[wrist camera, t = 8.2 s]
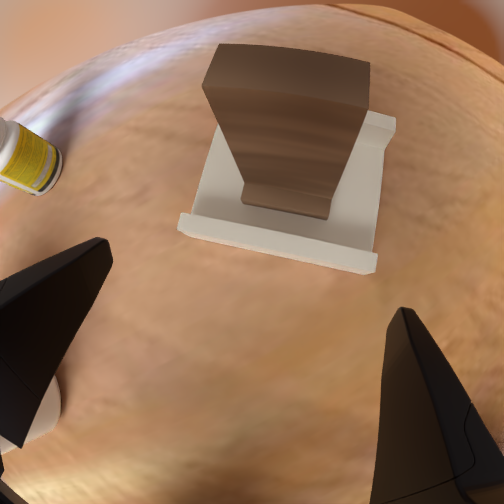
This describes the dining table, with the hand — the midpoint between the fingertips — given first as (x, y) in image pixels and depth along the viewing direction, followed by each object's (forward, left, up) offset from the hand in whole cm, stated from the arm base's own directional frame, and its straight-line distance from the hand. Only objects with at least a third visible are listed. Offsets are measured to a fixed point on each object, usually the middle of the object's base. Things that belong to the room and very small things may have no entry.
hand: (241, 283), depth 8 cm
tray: (+6, -3, -10) cm, 12 cm away
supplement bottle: (+13, +17, -10) cm, 24 cm away
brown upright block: (+6, -3, -9) cm, 11 cm away
